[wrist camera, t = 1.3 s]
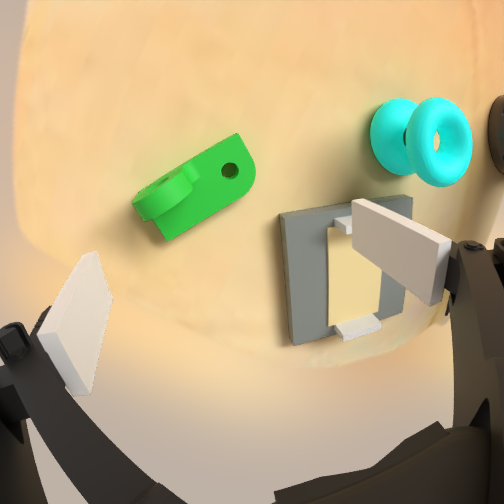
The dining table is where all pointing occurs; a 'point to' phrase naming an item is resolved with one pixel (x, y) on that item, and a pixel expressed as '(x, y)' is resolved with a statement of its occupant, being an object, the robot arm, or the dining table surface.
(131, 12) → the dining table surface
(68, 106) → the dining table surface
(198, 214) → the mechanical part
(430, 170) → the donuts
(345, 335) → the grey square plate
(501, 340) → the robot arm
